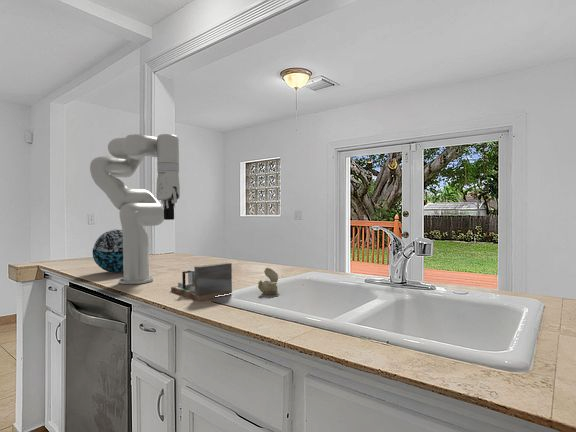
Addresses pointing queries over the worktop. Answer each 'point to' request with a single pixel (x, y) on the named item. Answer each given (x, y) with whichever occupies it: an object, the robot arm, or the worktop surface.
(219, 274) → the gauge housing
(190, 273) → the gauge plunger
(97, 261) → the decorative sphere
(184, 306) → the worktop surface
